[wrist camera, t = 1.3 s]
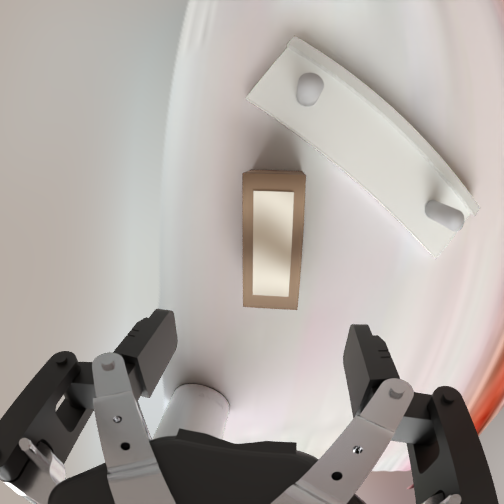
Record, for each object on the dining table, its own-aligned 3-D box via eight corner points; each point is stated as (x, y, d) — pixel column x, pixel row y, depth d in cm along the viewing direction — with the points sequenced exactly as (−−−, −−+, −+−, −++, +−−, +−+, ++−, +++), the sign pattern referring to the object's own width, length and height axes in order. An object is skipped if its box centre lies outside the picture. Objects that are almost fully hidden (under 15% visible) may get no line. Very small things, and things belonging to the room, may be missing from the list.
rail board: (430, 254, 28) (457, 277, 22) (247, 100, 25) (236, 86, 19) (468, 203, 25) (501, 216, 19) (294, 44, 22) (295, 17, 16)
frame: (296, 282, 31) (297, 310, 25) (251, 279, 32) (242, 307, 26) (301, 171, 27) (305, 175, 21) (251, 169, 28) (242, 173, 22)
